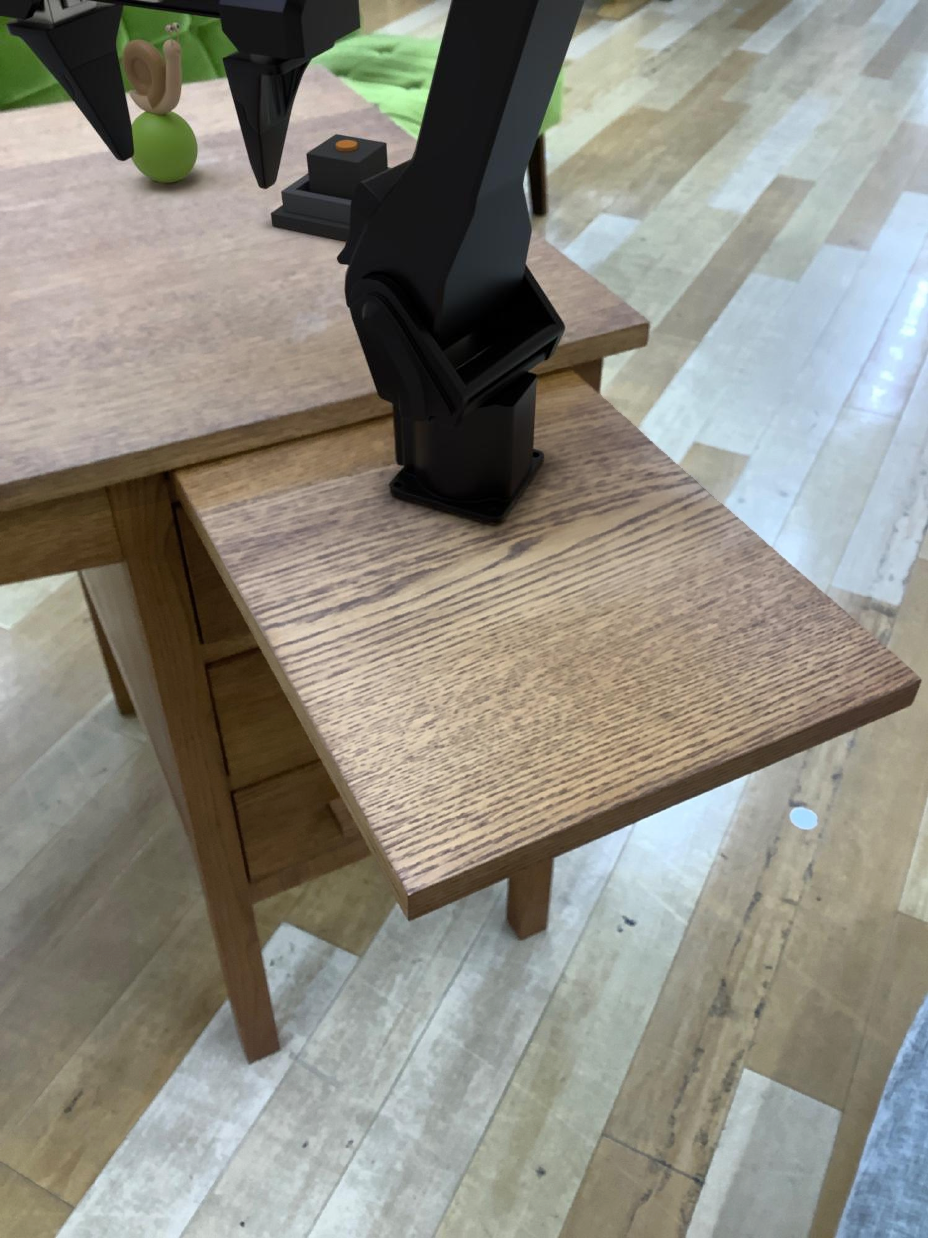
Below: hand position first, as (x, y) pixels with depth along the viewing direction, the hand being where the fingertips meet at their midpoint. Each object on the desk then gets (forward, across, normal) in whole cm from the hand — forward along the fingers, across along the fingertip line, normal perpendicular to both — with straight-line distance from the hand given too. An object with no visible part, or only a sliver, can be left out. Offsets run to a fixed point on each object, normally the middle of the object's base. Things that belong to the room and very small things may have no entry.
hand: (195, 171), depth 56 cm
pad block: (+11, +5, -23) cm, 26 cm away
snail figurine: (+12, +21, -23) cm, 33 cm away
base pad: (+12, +5, -23) cm, 27 cm away
